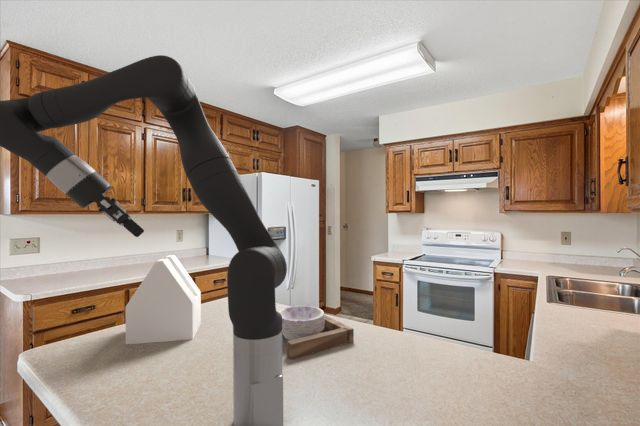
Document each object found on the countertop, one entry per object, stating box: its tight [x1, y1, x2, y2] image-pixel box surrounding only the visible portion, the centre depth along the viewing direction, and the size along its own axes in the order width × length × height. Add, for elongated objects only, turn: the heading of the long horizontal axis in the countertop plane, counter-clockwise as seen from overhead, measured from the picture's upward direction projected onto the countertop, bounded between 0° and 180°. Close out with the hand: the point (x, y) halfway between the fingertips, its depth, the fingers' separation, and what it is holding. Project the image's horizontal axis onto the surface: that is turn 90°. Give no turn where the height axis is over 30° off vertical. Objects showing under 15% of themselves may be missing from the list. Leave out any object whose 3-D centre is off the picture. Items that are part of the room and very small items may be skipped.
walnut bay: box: [286, 314, 355, 360], centre depth 105 cm, size 25×22×4 cm
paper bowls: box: [278, 305, 325, 341], centre depth 105 cm, size 15×15×8 cm
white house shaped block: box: [125, 254, 202, 345], centre depth 108 cm, size 19×15×25 cm
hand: (139, 233), depth 77 cm, fingers open, 8 cm apart
